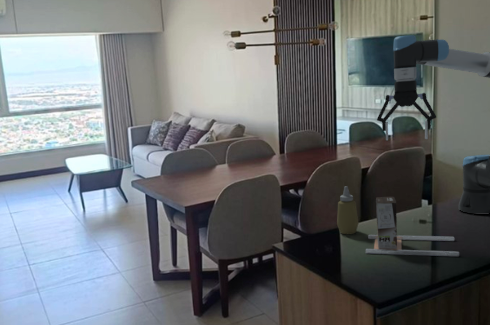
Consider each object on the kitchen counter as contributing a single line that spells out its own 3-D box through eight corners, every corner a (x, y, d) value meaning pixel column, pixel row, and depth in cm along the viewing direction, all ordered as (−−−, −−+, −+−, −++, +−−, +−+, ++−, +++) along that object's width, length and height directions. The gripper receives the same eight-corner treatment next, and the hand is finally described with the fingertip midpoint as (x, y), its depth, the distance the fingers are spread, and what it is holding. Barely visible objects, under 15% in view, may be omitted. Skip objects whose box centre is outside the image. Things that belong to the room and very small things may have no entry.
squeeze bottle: (339, 228, 196) (337, 184, 193) (360, 229, 193) (358, 184, 190) (335, 235, 188) (333, 188, 185) (357, 236, 186) (355, 189, 183)
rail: (453, 239, 174) (453, 236, 174) (459, 256, 159) (458, 252, 159) (368, 237, 183) (368, 234, 183) (365, 253, 168) (365, 249, 167)
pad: (401, 241, 177) (401, 239, 177) (401, 251, 167) (401, 250, 166) (375, 240, 180) (375, 239, 180) (373, 250, 169) (373, 249, 169)
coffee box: (397, 249, 168) (396, 202, 165) (378, 249, 170) (376, 203, 167) (395, 240, 177) (394, 196, 174) (377, 240, 178) (375, 196, 176)
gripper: (368, 82, 178) (370, 141, 181) (443, 77, 170) (444, 139, 174) (369, 82, 185) (371, 139, 188) (442, 77, 177) (442, 136, 181)
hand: (406, 139), depth 181 cm, fingers open, 13 cm apart
